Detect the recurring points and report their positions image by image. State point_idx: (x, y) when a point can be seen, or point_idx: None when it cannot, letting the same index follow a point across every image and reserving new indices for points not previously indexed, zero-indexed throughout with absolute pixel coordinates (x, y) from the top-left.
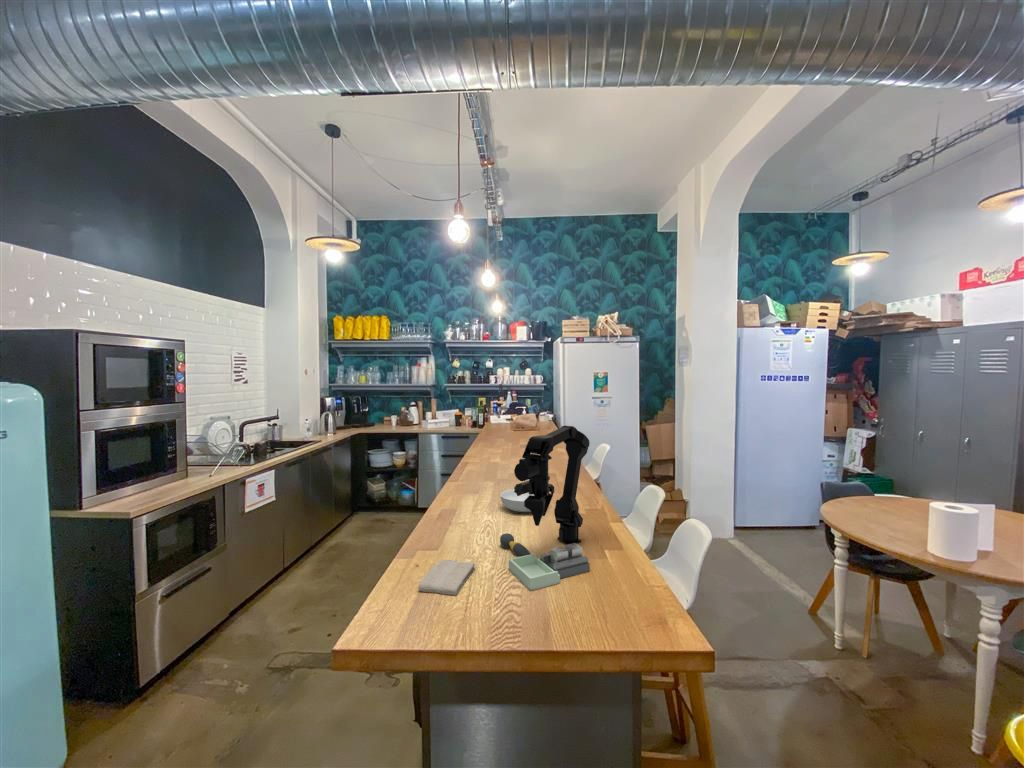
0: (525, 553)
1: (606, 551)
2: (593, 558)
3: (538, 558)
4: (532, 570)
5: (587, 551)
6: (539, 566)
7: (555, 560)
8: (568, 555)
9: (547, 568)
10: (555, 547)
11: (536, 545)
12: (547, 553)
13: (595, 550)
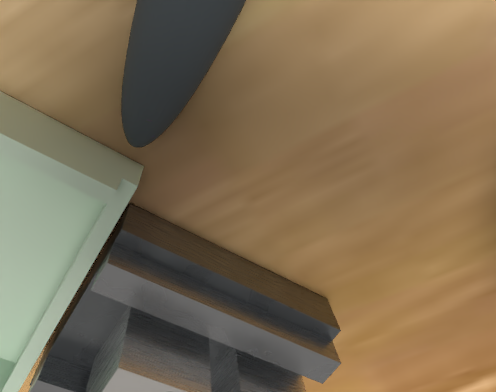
0: (133, 80)
1: (483, 385)
2: (379, 373)
3: (120, 213)
4: (19, 205)
5: (454, 323)
6: (96, 219)
7: (98, 363)
8: (215, 389)
9: (45, 313)
10: (158, 385)
11: (441, 6)
12: (155, 286)
13: (480, 346)
